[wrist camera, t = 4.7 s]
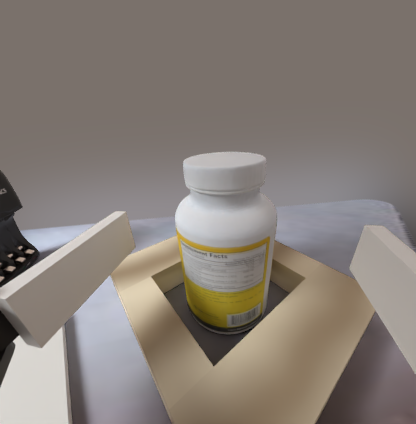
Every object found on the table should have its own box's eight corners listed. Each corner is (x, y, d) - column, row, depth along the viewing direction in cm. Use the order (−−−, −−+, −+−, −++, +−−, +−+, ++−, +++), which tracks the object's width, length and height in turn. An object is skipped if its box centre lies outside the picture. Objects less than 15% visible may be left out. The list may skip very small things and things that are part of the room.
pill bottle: (229, 262, 20) (228, 147, 15) (283, 304, 15) (310, 155, 10) (173, 295, 16) (148, 159, 11) (221, 362, 12) (213, 180, 7)
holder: (114, 285, 18) (106, 264, 17) (224, 231, 25) (223, 215, 24) (234, 574, 6) (235, 568, 5) (372, 318, 14) (384, 293, 13)
